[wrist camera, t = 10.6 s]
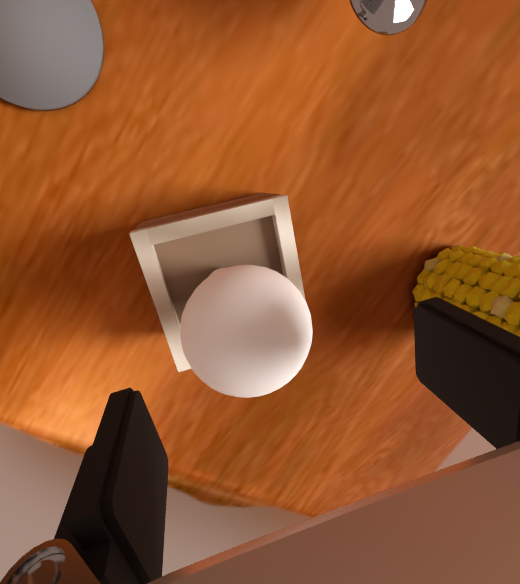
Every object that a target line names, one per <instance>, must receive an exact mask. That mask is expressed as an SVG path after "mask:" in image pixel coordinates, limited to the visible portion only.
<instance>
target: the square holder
mask: <svg viewBox="0 0 520 584" xmlns="http://www.w3.org/2000/svg"><path fill="white" fill-rule="evenodd" d="M129 234H130V237H131V240H132V243H133V246H134V248H135V251H136V254H137V257H138V260H139V263H140V265H141V268H142V271H143V274H144V277H145V279H146V282H147V285H148V288H149V291H150V294H151V296H152V299H153V302H154V305H155V308H156V310H157V313H158V316H159V319H160V322H161V325H162V327H163V330H164V333H165V336H166V339H167V341H168V344H169V347H170V350H171V353H172V356H173V358H174V361H175V364H176V367H177V370H178V372H181V371H184V370H188V369H191V366H190V365H189V363H188V361H187V359H186V357H185V355H184V352H183V349H182V345H181V333H180V324H181V318H182V313H183V311H184V308H185V306H186V303H187V301H188V300H189V298H190V297H191V295H192V294H193V292H194V291H195V289H196V288H197V287H198V286H199V285H200V284H201V283H202V282H203V281H204V280H205V279H206V278H208V277H209V276H210V274H211V273H212V272H214V271H215V270H217V269H220V268H227V267H232V266H236V265H256V266H261V267H266V268H269V269H271V270H274V271H277V272H278V273H280V274H281V275H283V276H284V277H286V278H287V279H288V280H290V281H291V282H292V283H293V284H294V285H295V286H296V287H297V288H298V290H299V291H300V293H301V294H302V296H303V298H304V299H305V295H304V290H303V284H302V278H301V272H300V267H299V261H298V255H297V249H296V244H295V238H294V232H293V226H292V221H291V215H290V209H289V204H288V198H287V195H280V194H269V193H259V194H255V195H251V196H246V197H242V198H238V199H234V200H229V201H225V202H221V203H217V204H213V205H208V206H204V207H200V208H196V209H192V210H187V211H183V212H179V213H175V214H171V215H166V216H162V217H158V218H154V219H150V220H145V221H142V222H141V223H140V224H139V225H138V226H137V227H135V228H134V229H133V230H132V231H131V232H130V233H129Z"/></svg>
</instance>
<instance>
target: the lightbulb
mask: <svg viewBox="0 0 520 584" xmlns="http://www.w3.org/2000/svg"><path fill="white" fill-rule="evenodd" d="M180 333H181V345H182V349H183V352H184V355H185V357H186V359H187V361H188V363H189V365H190V366H191V368H192V370H193V371H194V372H195V374H196V375H197V376H198V377H199V378H200V379H201V380H202V381H203V382H204V383H205V384H207V385H208V386H210V387H211V388H212V389H214V390H216V391H218V392H221V393H223V394H226V395H231V396H235V397H247V398H250V397H257V396H262V395H265V394H269V393H271V392H273V391H275V390H277V389H279V388H281V387H282V386H284V385H285V384H287V383H288V382H289V381H290V380H291V379H292V378H293V377H294V376H295V375H296V374H297V373H298V371H299V370H300V369H301V367H302V366H303V364H304V362H305V360H306V358H307V356H308V353H309V350H310V347H311V343H312V333H313V330H312V322H311V315H310V312H309V309H308V306H307V303H306V301H305V299H304V298H303V296H302V294H301V293H300V291H299V290H298V288H297V287H296V286H295V285H294V284H293V283H292V282H291V281H290V280H288V279H287V278H286V277H284V276H283V275H281V274H280V273H278V272H277V271H274V270H271V269H269V268H266V267H261V266H256V265H236V266H232V267H227V268H220V269H217V270H215V271H214V272H212V273H211V274H210V276H209V277H208V278H206V279H205V280H204V281H203V282H202V283H201V284H200V285H199V286H198V287H197V288H196V289H195V291H194V292H193V294H192V295H191V297H190V298H189V300H188V301H187V303H186V306H185V308H184V311H183V313H182V318H181V324H180Z"/></svg>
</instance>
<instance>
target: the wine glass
mask: <svg viewBox="0 0 520 584" xmlns="http://www.w3.org/2000/svg"><path fill="white" fill-rule="evenodd" d="M351 3H352V6H353V8H354V10H355V12H356V14H357V16H358V17H359V19H360V20H361V21H362V22H363V23H364V24H365V25H366V26H367V27H368V28H369V29H371V30H373V31H374V32H377V33H380V34H384V35H392V34H397V33H400V32H402V31H404V30H406V29H407V28H409V27H410V26H411V25H412V24H413V23H414V22H415V21H416V20H417V19H418V17H419V16H420V15H421V13H422V11H423V9H424V7H425V5H426V3H427V0H351Z"/></svg>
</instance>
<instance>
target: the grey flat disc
mask: <svg viewBox="0 0 520 584" xmlns="http://www.w3.org/2000/svg"><path fill="white" fill-rule="evenodd" d="M103 57H104V41H103V34H102V29H101V25H100V21H99V19H98V16H97V13H96V11H95V9H94V7H93V4H92V2H91V0H0V98H2V99H4V100H6V101H8V102H10V103H12V104H15V105H17V106H20V107H24V108H27V109H32V110H39V111H51V110H59V109H62V108H66V107H69V106H71V105H73V104H75V103H77V102H78V101H80V100H81V99H82V98H84V97H85V96H86V95H87V94H88V93H89V92H90V90H91V89H92V88H93V87H94V85H95V83H96V81H97V80H98V77H99V75H100V72H101V68H102V64H103Z"/></svg>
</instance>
